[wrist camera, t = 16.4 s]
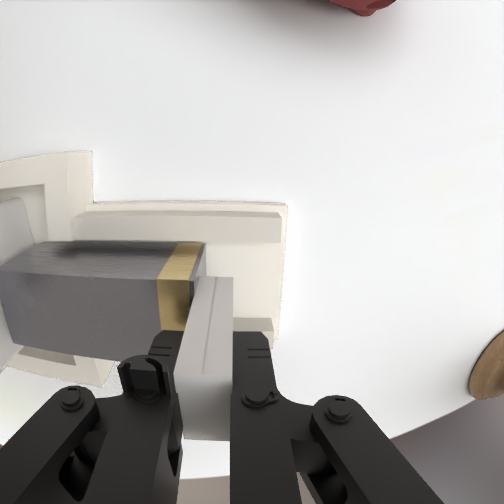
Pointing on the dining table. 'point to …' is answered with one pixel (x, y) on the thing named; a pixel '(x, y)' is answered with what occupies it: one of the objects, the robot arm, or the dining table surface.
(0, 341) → the container
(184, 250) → the grey rectangular block
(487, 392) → the candle holder
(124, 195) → the dining table surface
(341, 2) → the mechanical component
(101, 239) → the dock socket
